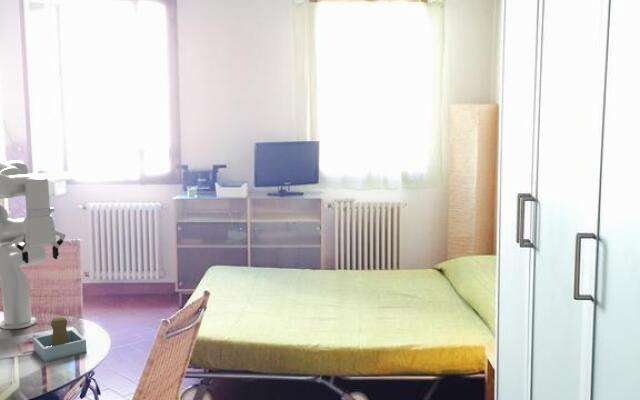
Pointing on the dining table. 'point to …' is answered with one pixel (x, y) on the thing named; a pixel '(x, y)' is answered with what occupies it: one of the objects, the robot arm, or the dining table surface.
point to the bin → (59, 346)
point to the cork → (59, 331)
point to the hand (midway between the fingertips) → (40, 260)
